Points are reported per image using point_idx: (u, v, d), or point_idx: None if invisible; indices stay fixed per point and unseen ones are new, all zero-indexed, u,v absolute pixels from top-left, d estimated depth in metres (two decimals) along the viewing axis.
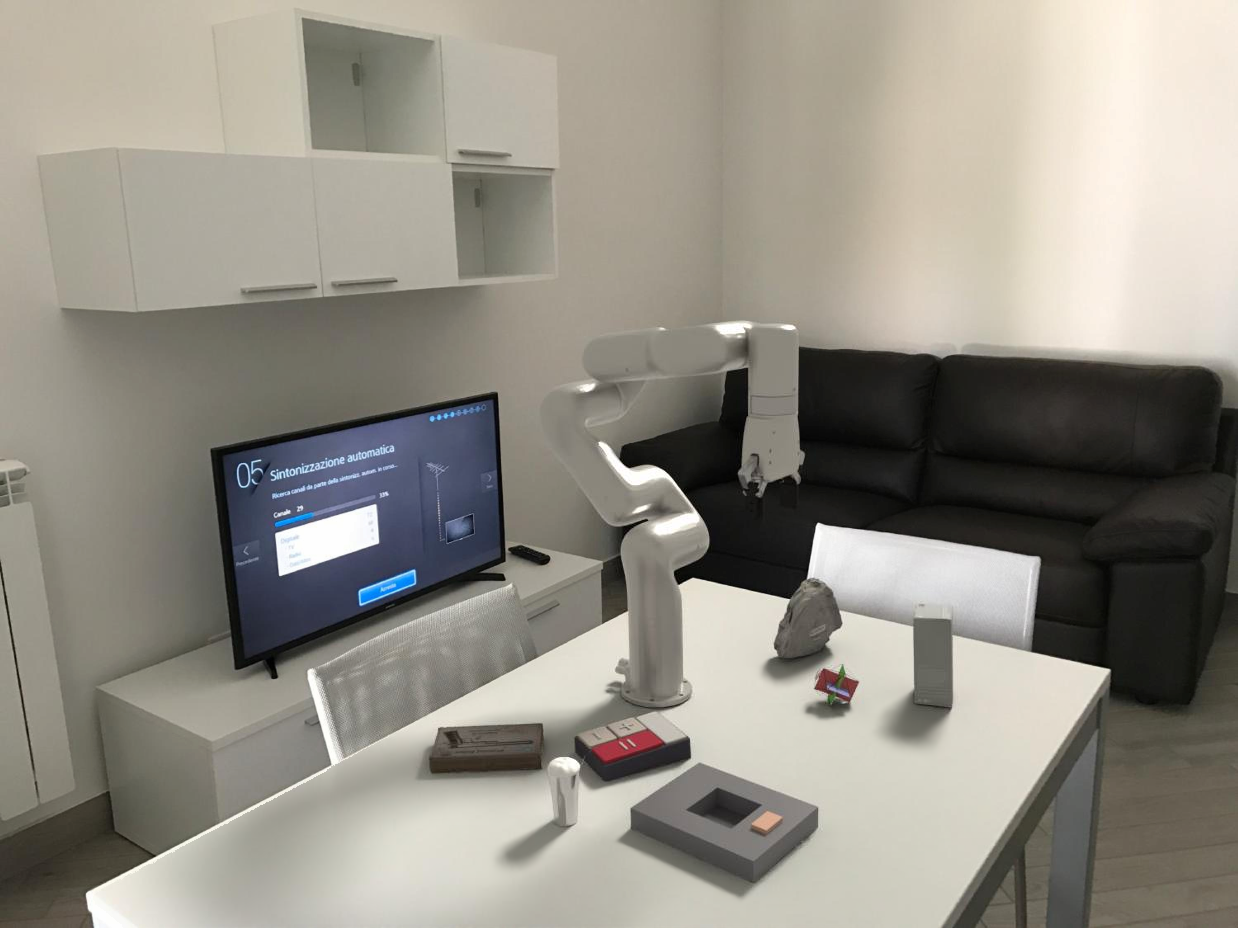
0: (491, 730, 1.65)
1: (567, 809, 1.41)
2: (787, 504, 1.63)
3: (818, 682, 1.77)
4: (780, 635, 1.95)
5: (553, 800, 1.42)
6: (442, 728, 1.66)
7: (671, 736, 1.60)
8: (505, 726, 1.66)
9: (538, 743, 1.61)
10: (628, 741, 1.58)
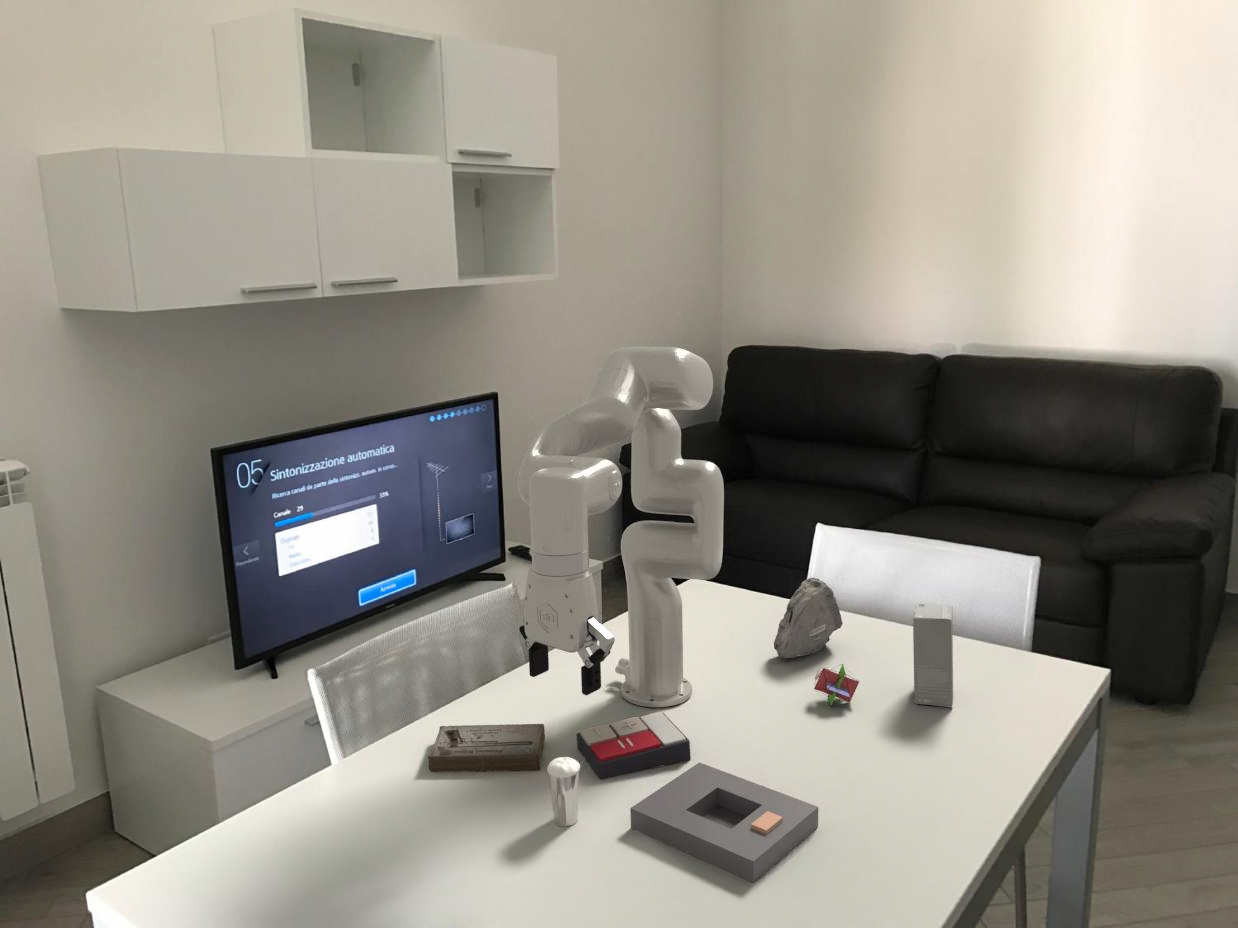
0: (492, 729, 1.65)
1: (567, 809, 1.41)
2: (541, 670, 1.42)
3: (818, 682, 1.77)
4: (780, 635, 1.95)
5: (553, 800, 1.42)
6: (444, 727, 1.67)
7: (671, 737, 1.59)
8: (506, 726, 1.66)
9: (537, 744, 1.60)
10: (627, 740, 1.59)
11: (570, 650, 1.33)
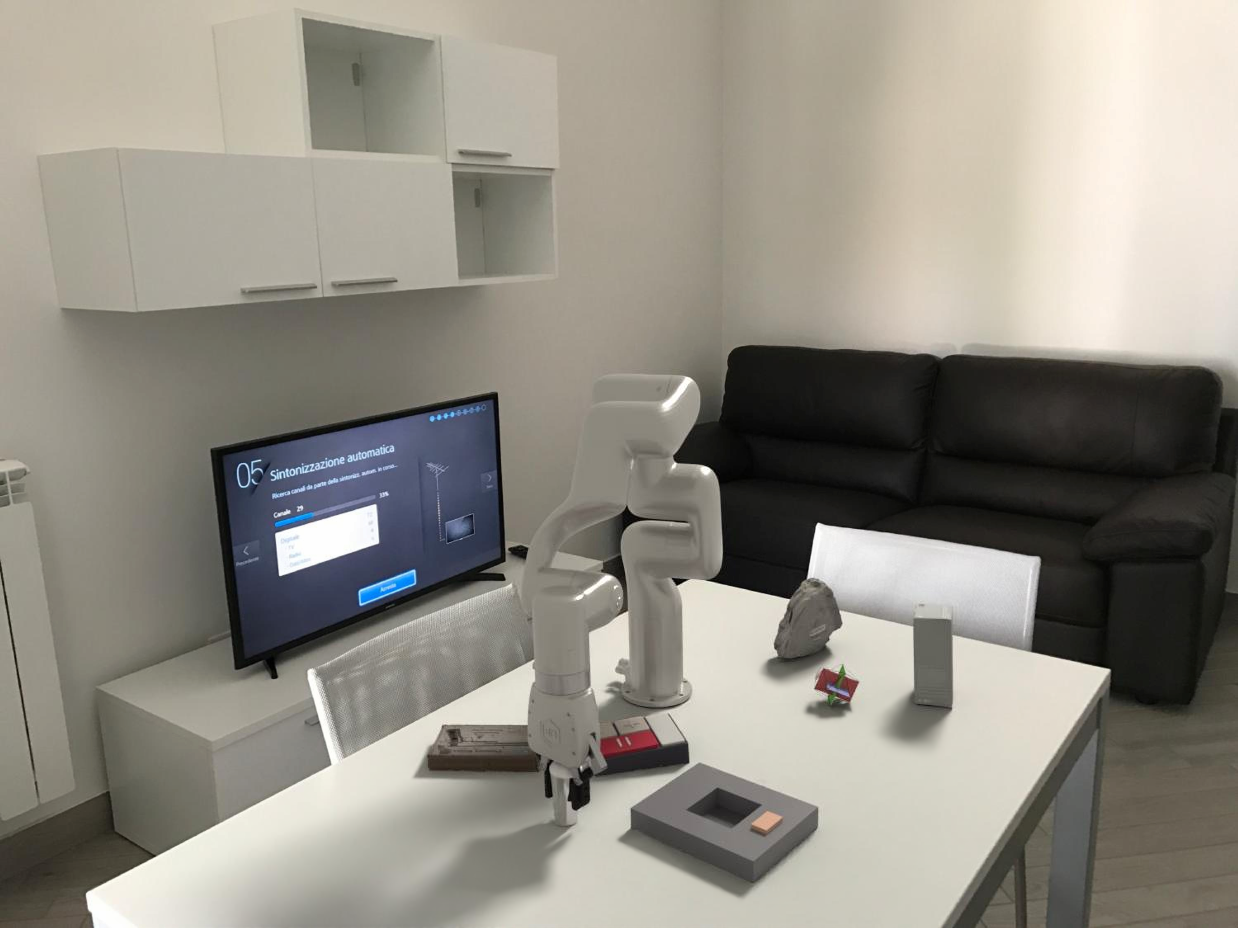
0: (493, 729, 1.65)
1: (568, 809, 1.41)
2: None
3: (818, 682, 1.77)
4: (780, 635, 1.95)
5: (554, 800, 1.42)
6: (446, 725, 1.67)
7: (670, 739, 1.59)
8: (507, 727, 1.66)
9: None
10: (626, 739, 1.59)
11: (572, 766, 1.37)
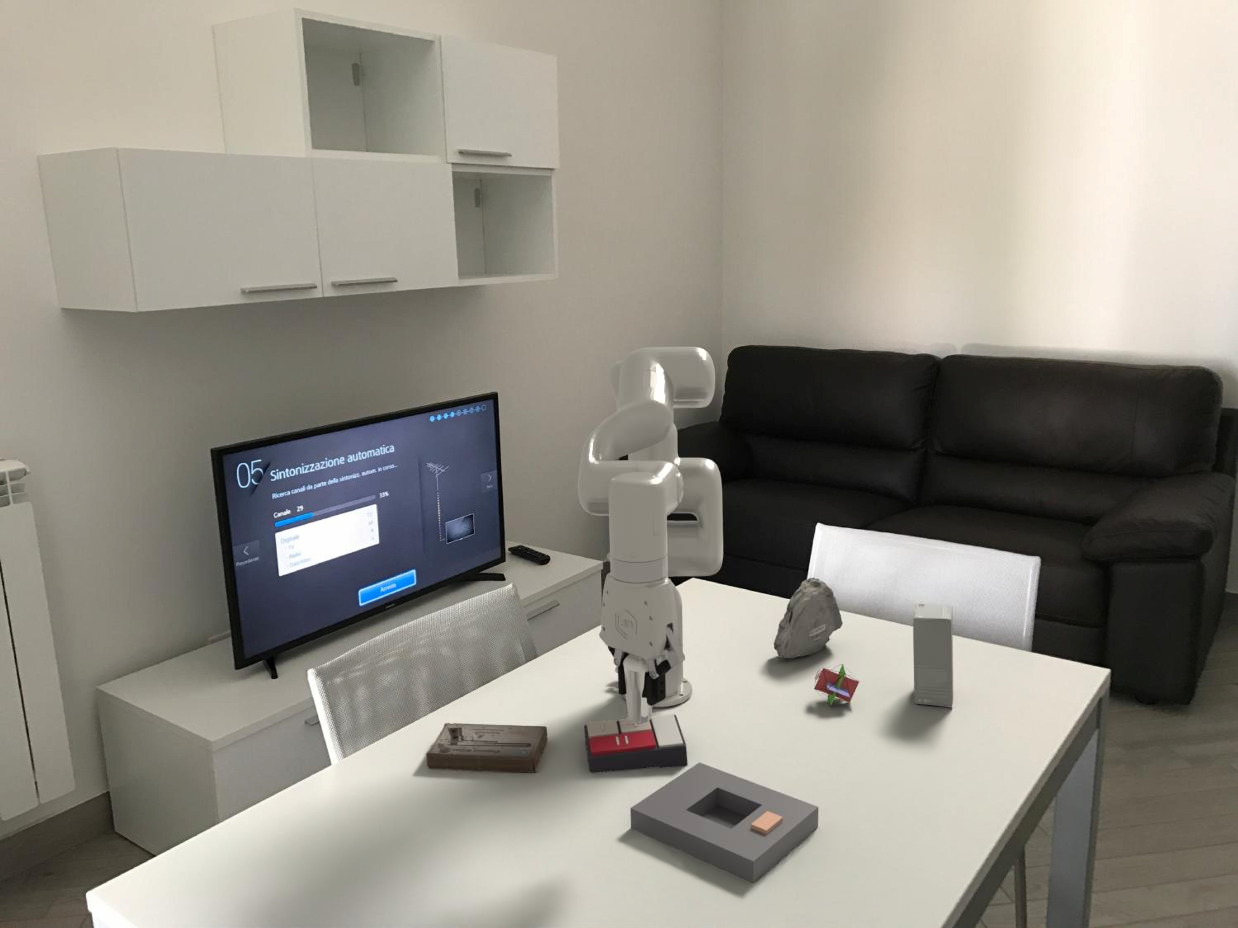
0: (494, 729, 1.65)
1: (642, 705, 1.37)
2: None
3: (818, 682, 1.77)
4: (780, 635, 1.95)
5: (628, 696, 1.37)
6: (448, 724, 1.67)
7: (668, 740, 1.58)
8: (509, 727, 1.66)
9: (535, 746, 1.59)
10: (625, 737, 1.60)
11: (649, 657, 1.32)
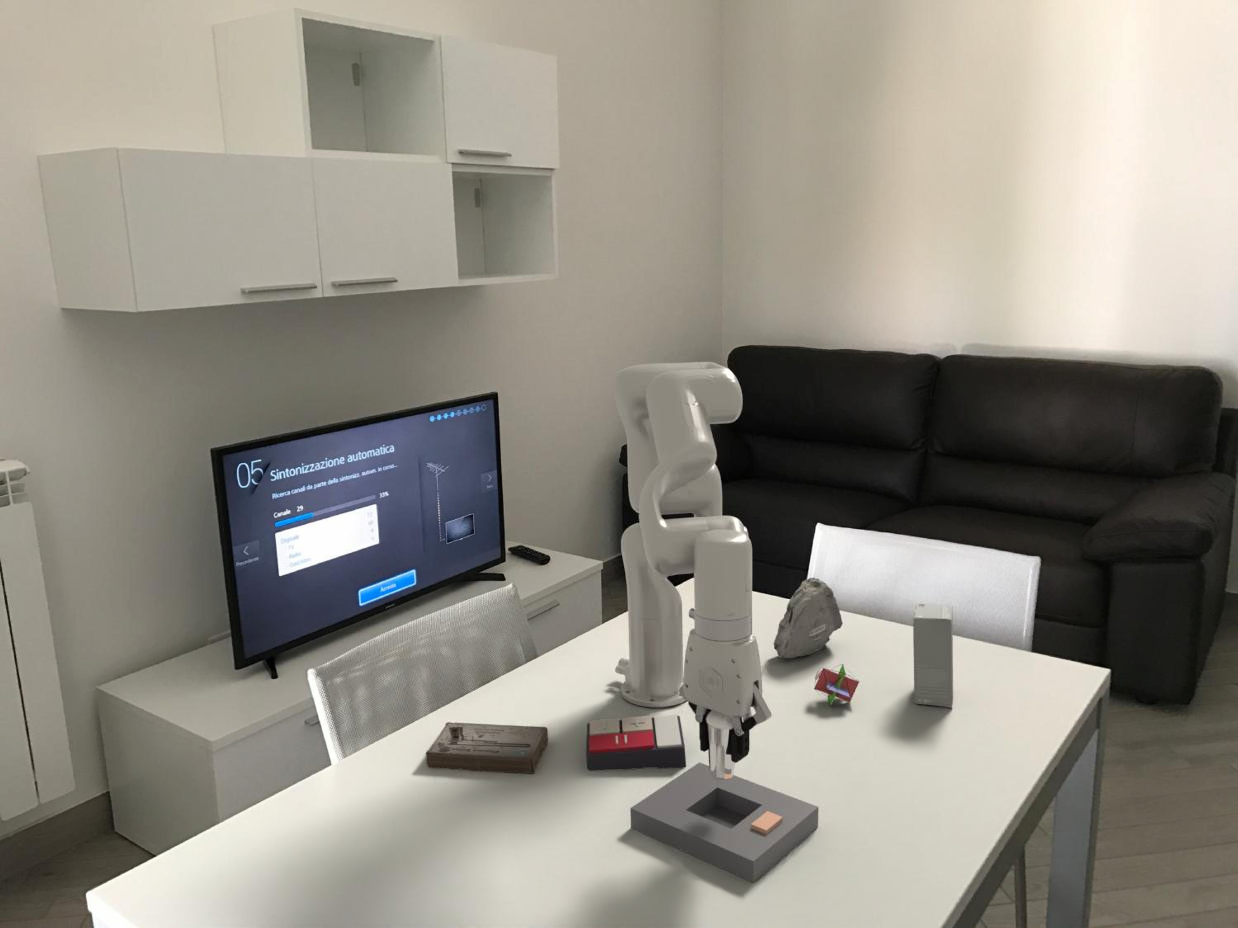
0: (495, 729, 1.65)
1: (726, 762, 1.37)
2: None
3: (818, 682, 1.77)
4: (780, 635, 1.95)
5: (711, 752, 1.37)
6: (449, 723, 1.68)
7: (667, 741, 1.58)
8: (509, 727, 1.66)
9: (534, 747, 1.59)
10: (624, 737, 1.60)
11: (736, 715, 1.32)
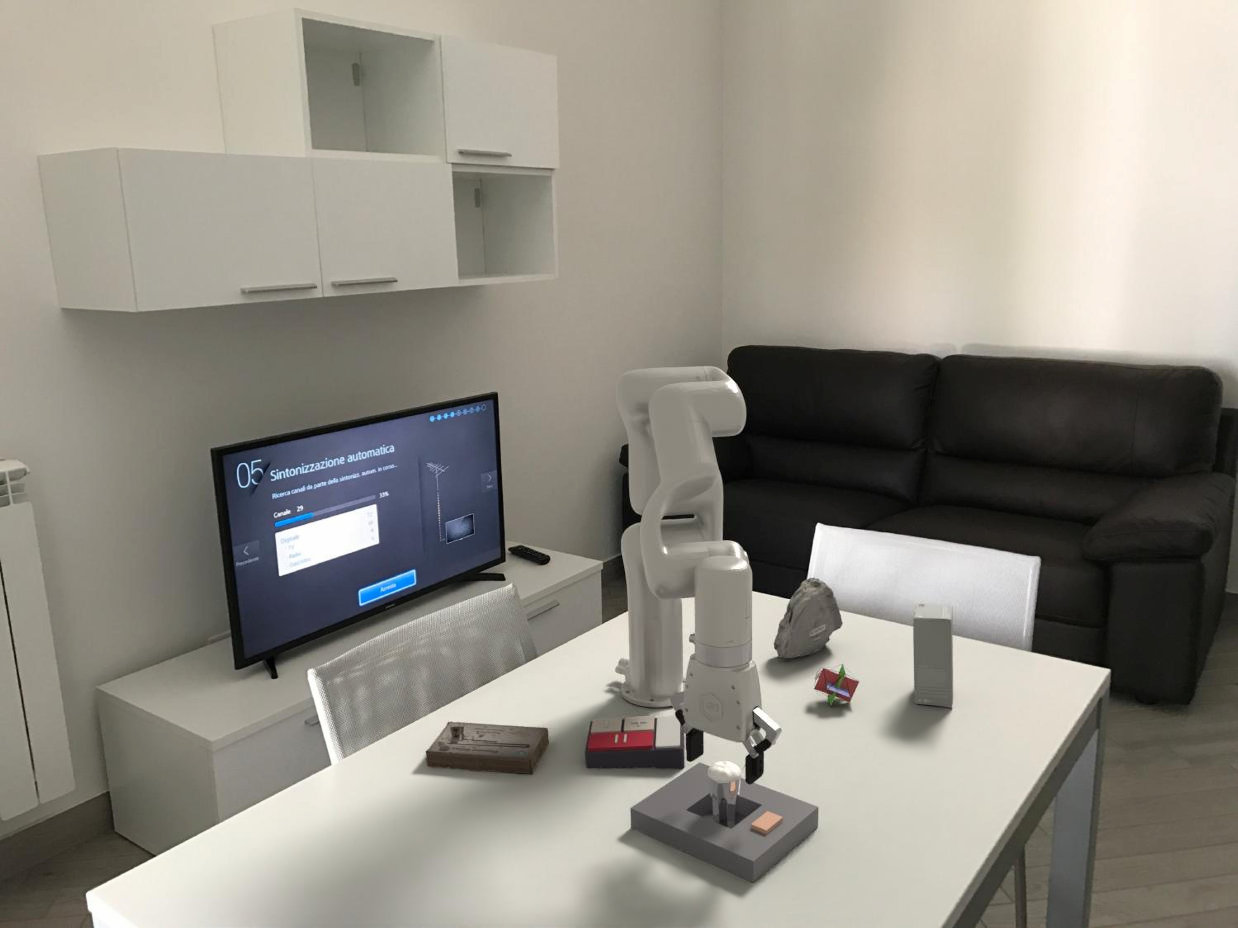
0: (496, 729, 1.65)
1: (729, 814, 1.38)
2: (697, 754, 1.42)
3: (818, 682, 1.77)
4: (780, 635, 1.95)
5: (714, 805, 1.39)
6: (451, 723, 1.68)
7: (666, 742, 1.58)
8: (510, 727, 1.66)
9: (533, 748, 1.59)
10: (624, 736, 1.60)
11: (736, 740, 1.33)
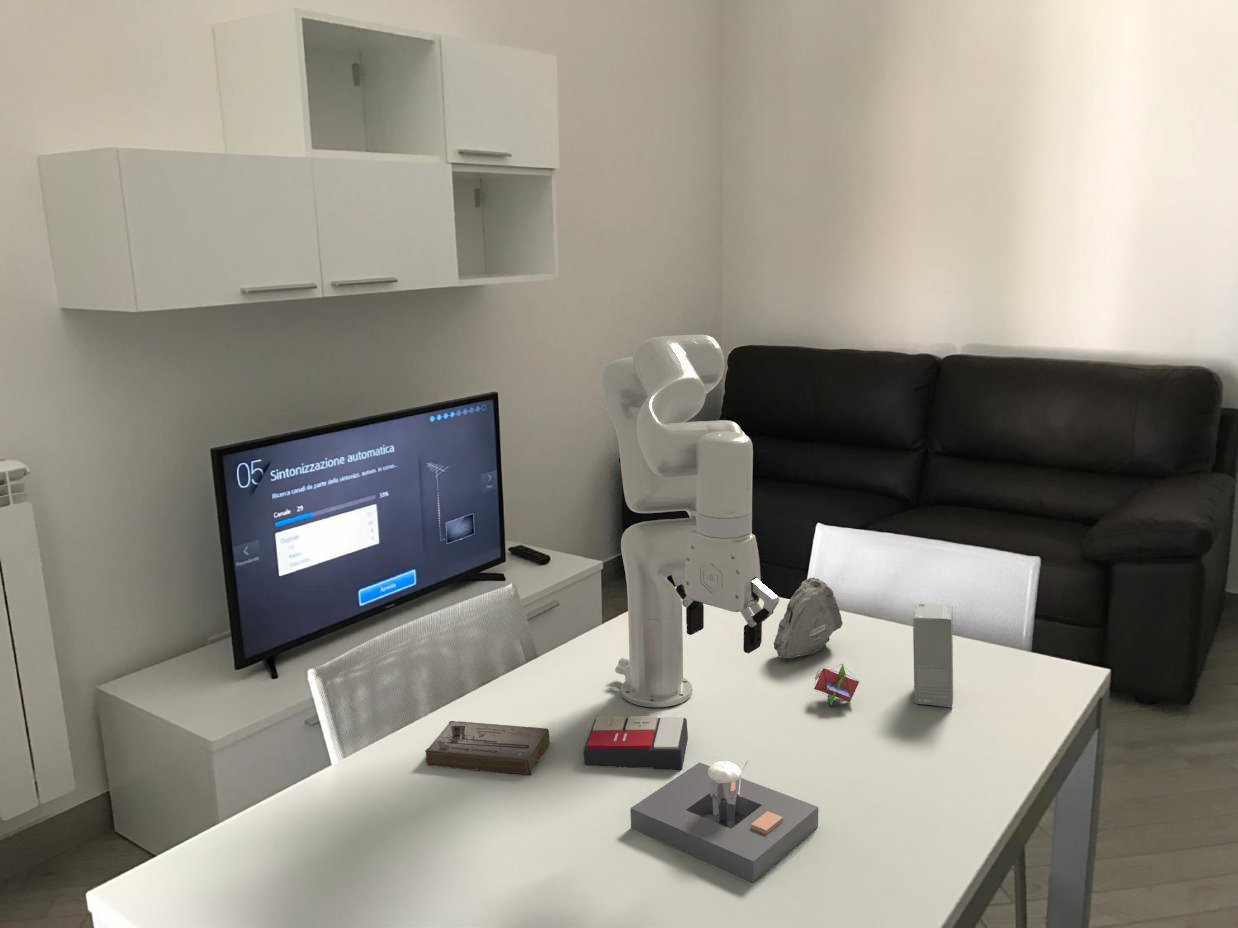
0: (496, 729, 1.65)
1: (729, 814, 1.38)
2: (697, 628, 1.46)
3: (818, 682, 1.77)
4: (780, 635, 1.95)
5: (714, 805, 1.39)
6: (453, 722, 1.68)
7: (665, 742, 1.58)
8: (511, 727, 1.66)
9: (532, 748, 1.59)
10: (624, 735, 1.60)
11: (734, 610, 1.37)
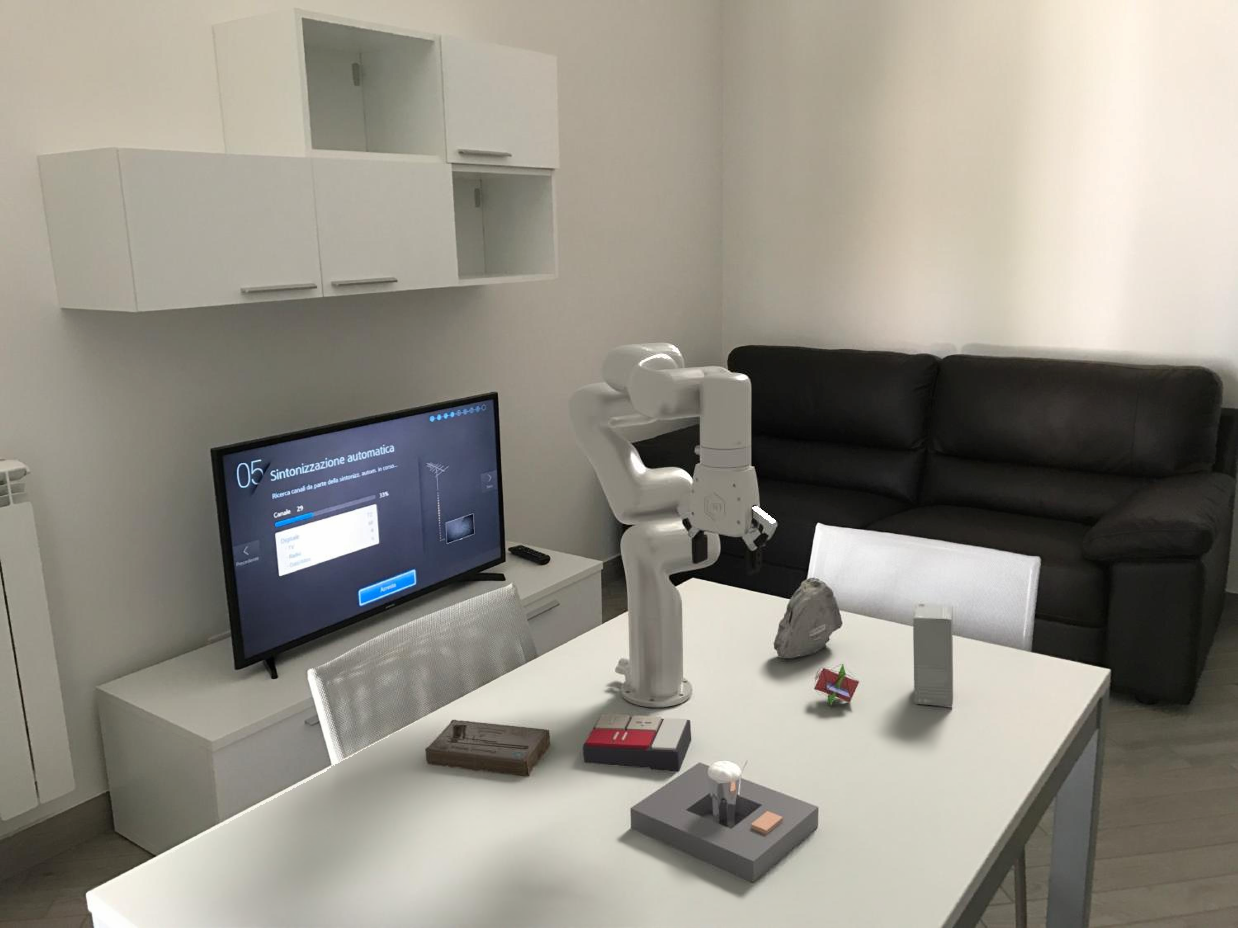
0: (497, 729, 1.65)
1: (729, 814, 1.38)
2: (702, 558, 1.58)
3: (818, 682, 1.77)
4: (780, 635, 1.95)
5: (714, 805, 1.39)
6: (455, 721, 1.69)
7: (663, 743, 1.57)
8: (512, 728, 1.66)
9: (531, 749, 1.58)
10: (624, 734, 1.61)
11: (736, 534, 1.50)
